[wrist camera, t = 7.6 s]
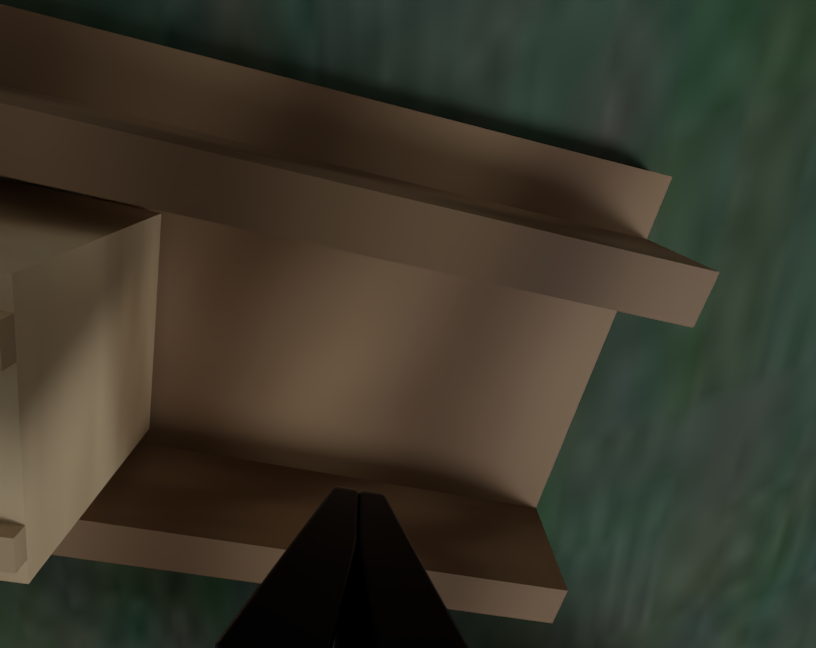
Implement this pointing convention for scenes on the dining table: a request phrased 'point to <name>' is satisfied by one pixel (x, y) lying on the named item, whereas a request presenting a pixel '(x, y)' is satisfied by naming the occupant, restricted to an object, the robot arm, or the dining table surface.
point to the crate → (69, 359)
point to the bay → (339, 306)
